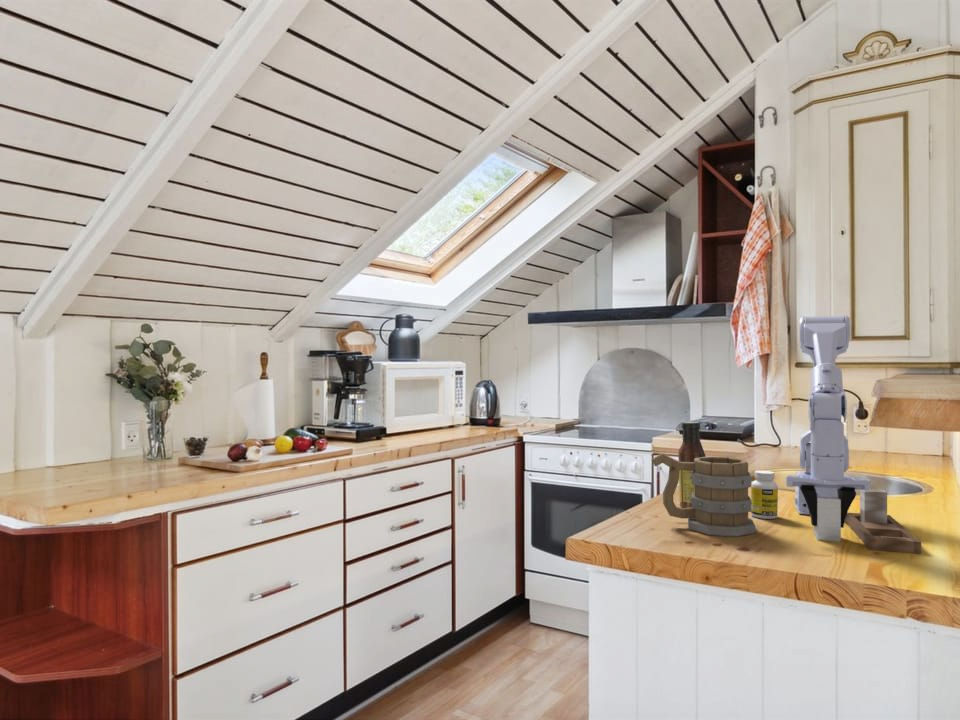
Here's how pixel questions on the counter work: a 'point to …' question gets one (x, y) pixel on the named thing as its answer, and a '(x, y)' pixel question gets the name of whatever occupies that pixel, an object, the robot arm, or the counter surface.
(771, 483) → the supplement bottle
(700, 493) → the tankard
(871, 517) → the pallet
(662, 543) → the counter surface
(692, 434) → the sauce bottle
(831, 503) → the block
